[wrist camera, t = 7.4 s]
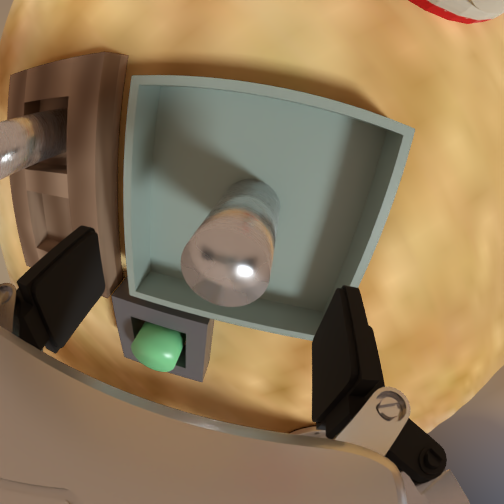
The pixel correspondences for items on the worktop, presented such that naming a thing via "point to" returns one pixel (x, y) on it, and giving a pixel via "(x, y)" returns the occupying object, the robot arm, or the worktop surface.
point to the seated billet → (31, 139)
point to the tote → (263, 169)
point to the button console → (196, 327)
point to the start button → (158, 346)
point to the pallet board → (72, 157)
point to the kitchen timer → (463, 9)
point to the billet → (234, 246)
